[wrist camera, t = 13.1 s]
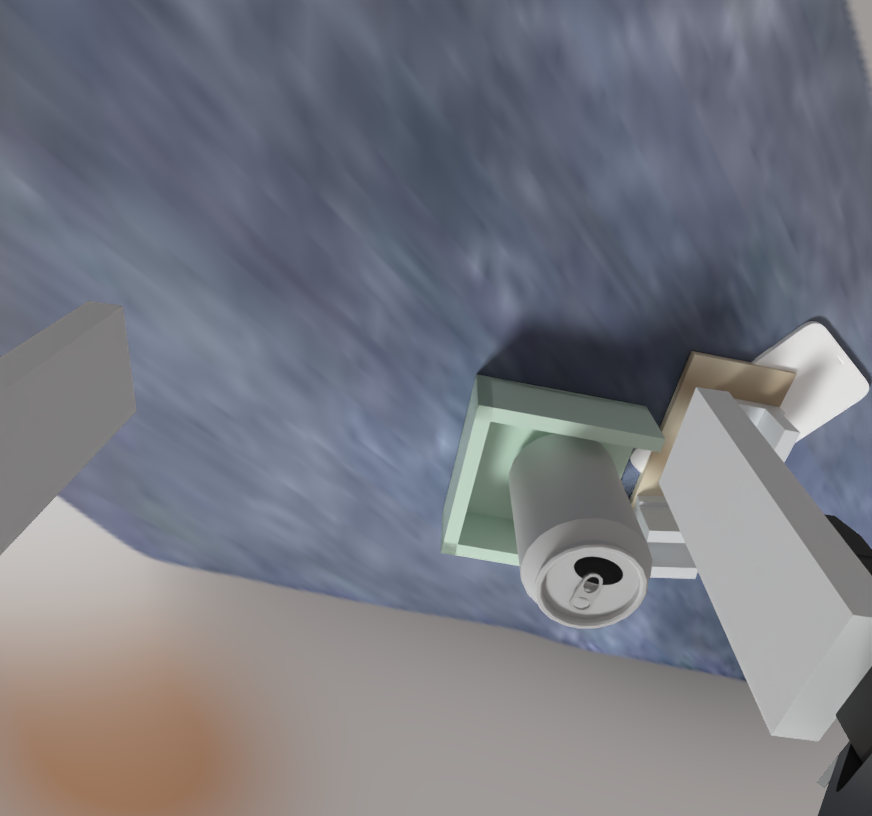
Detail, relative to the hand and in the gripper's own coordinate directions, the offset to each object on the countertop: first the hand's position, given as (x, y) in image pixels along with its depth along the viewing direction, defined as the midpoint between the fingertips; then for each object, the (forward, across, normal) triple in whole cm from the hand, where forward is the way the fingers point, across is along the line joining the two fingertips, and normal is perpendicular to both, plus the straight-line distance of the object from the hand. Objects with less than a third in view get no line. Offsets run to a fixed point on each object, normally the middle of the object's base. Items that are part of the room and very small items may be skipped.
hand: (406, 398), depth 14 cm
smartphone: (+26, +23, -12) cm, 36 cm away
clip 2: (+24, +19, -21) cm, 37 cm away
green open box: (+25, +10, -18) cm, 32 cm away
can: (+24, +11, -18) cm, 32 cm away
